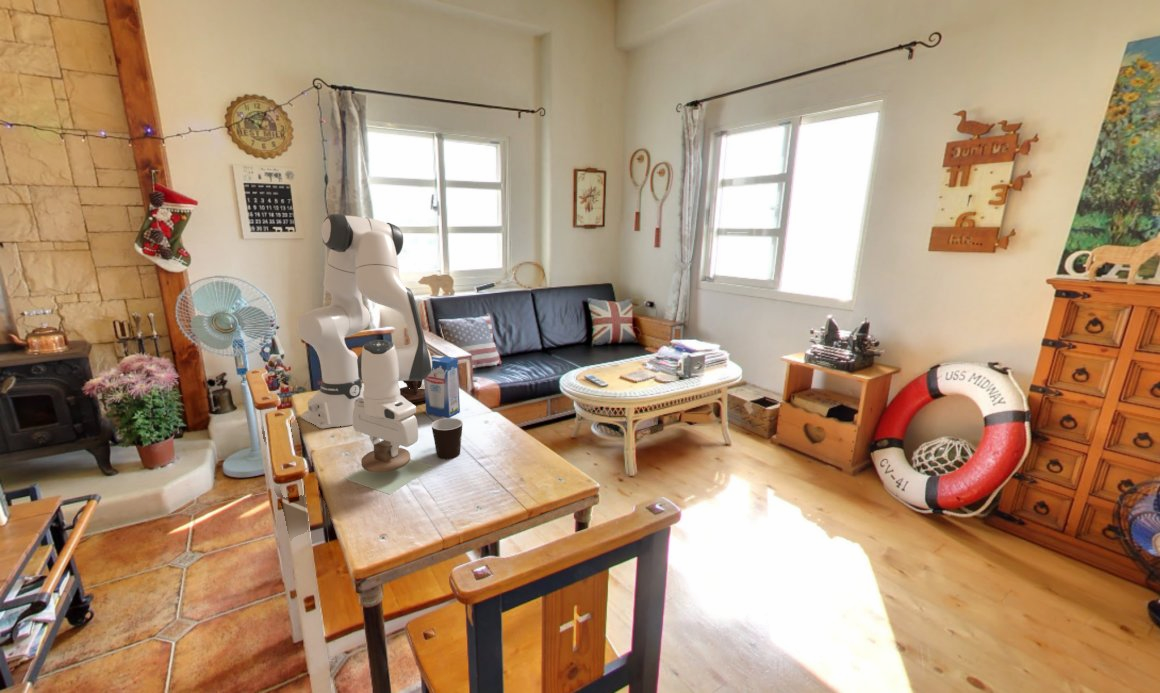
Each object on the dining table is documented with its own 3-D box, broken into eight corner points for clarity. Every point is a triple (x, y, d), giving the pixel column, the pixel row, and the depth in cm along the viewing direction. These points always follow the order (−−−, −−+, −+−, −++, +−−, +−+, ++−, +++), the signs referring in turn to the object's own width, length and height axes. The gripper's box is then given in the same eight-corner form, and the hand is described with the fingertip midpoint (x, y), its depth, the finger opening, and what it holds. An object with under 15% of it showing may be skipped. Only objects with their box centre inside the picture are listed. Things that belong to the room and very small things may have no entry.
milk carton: (425, 413, 170) (422, 359, 166) (437, 407, 176) (434, 354, 171) (449, 418, 167) (446, 362, 162) (460, 412, 172) (457, 358, 167)
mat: (344, 480, 126) (344, 478, 126) (392, 455, 140) (391, 453, 140) (389, 496, 119) (389, 494, 119) (434, 468, 133) (434, 466, 133)
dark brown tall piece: (438, 401, 182) (435, 350, 177) (397, 409, 174) (393, 355, 169) (427, 390, 194) (424, 342, 189) (388, 396, 186) (384, 346, 181)
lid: (351, 464, 125) (349, 447, 124) (387, 446, 136) (386, 430, 135) (385, 476, 121) (383, 458, 119) (420, 457, 131) (419, 440, 130)
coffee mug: (455, 464, 135) (454, 431, 133) (427, 460, 137) (425, 428, 135) (472, 446, 146) (471, 415, 144) (446, 443, 148) (445, 412, 146)
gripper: (344, 399, 126) (348, 448, 129) (402, 416, 117) (405, 467, 121) (364, 392, 131) (368, 439, 135) (421, 407, 123) (423, 457, 126)
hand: (385, 452), depth 128 cm, fingers closed on lid, 4 cm apart
